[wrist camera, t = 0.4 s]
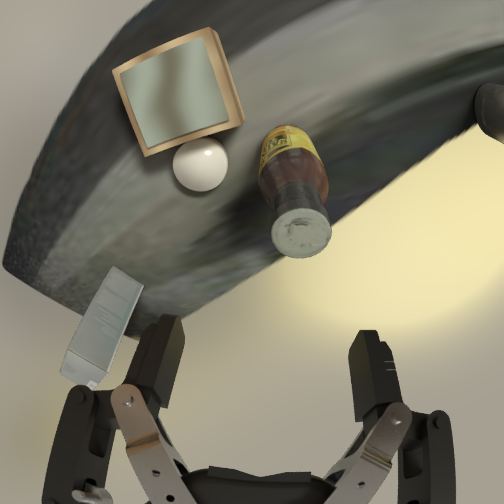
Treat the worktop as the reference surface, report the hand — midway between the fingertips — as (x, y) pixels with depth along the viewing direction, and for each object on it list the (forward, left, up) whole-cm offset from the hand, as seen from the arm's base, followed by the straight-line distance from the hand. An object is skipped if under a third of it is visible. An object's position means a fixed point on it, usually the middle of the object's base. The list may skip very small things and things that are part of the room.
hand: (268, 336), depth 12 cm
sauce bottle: (-2, 0, -28) cm, 28 cm away
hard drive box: (+37, +19, -28) cm, 49 cm away
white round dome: (+9, -1, -28) cm, 29 cm away
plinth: (+8, -11, -27) cm, 31 cm away
